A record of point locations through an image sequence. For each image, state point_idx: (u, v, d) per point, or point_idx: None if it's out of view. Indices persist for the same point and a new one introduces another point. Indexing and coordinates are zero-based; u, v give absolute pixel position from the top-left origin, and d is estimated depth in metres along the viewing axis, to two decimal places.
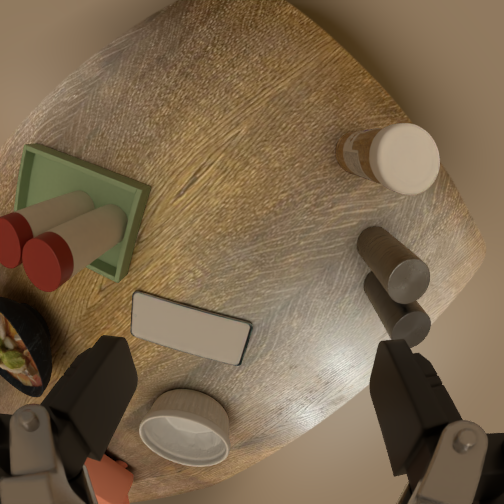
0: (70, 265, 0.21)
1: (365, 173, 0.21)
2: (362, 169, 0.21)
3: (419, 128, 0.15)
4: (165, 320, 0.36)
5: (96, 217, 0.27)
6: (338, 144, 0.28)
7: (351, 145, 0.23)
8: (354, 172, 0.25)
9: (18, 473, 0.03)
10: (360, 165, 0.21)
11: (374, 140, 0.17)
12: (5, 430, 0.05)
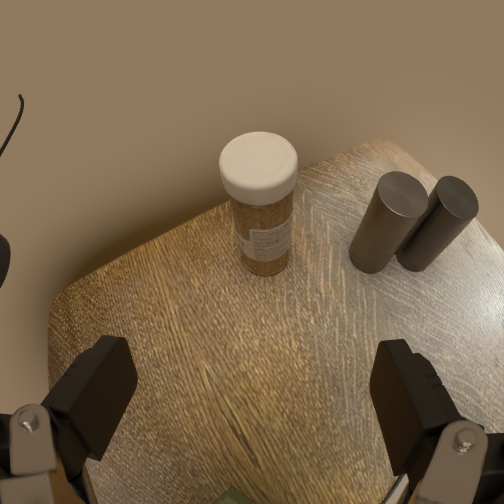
0: None
1: (276, 226, 0.20)
2: (271, 228, 0.20)
3: (227, 144, 0.17)
4: None
5: None
6: (251, 269, 0.27)
7: (247, 242, 0.23)
8: (280, 251, 0.24)
9: (18, 473, 0.03)
10: (266, 230, 0.20)
11: (232, 194, 0.17)
12: (5, 430, 0.05)
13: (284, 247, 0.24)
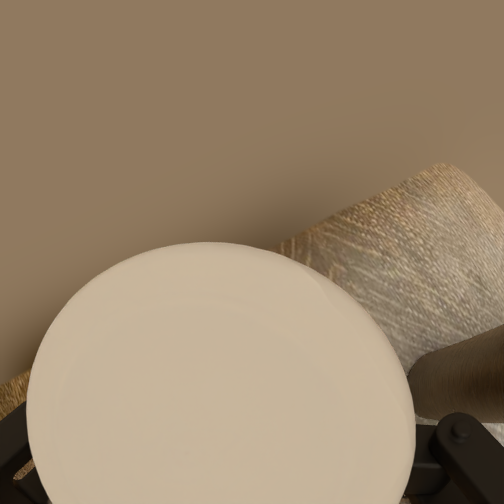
0: None
1: None
2: None
3: (50, 328, 0.03)
4: None
5: None
6: None
7: None
8: None
9: None
10: None
11: None
12: None
13: None
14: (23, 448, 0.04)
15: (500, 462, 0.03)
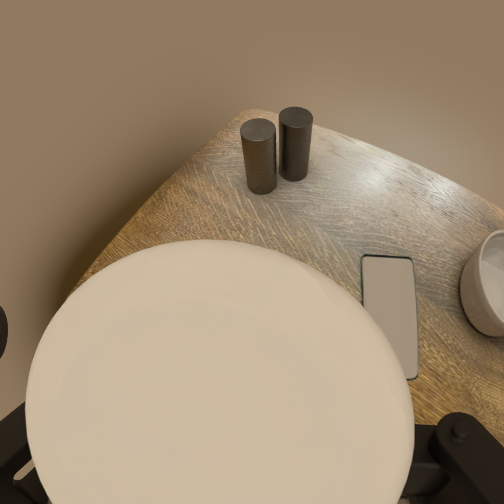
0: None
1: None
2: None
3: (49, 325, 0.03)
4: None
5: None
6: None
7: None
8: None
9: None
10: None
11: None
12: None
13: None
14: (23, 448, 0.04)
15: (500, 462, 0.03)
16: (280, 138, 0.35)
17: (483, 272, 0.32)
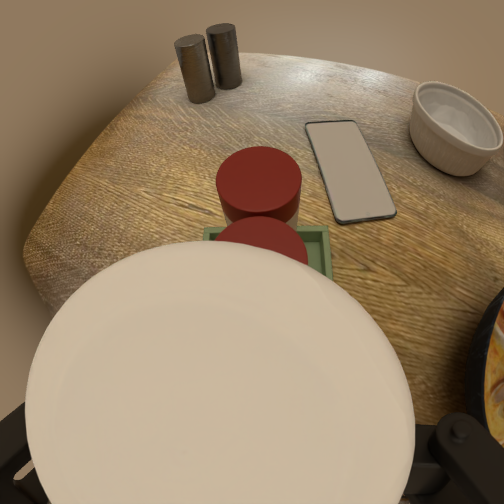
0: None
1: None
2: None
3: (50, 327, 0.03)
4: (350, 183, 0.31)
5: None
6: None
7: None
8: None
9: None
10: None
11: None
12: None
13: None
14: (23, 448, 0.04)
15: (500, 462, 0.03)
16: (210, 49, 0.35)
17: None
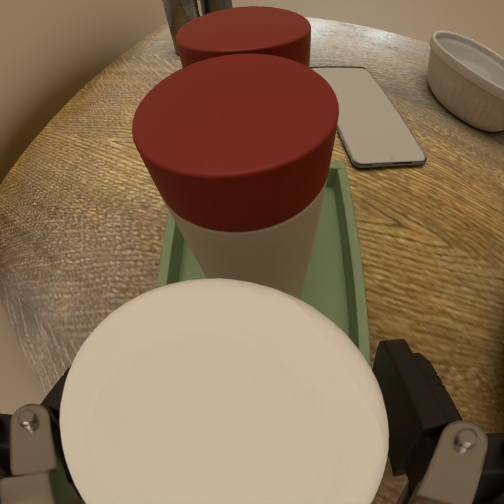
0: None
1: None
2: None
3: (82, 351, 0.04)
4: (367, 124, 0.23)
5: None
6: None
7: None
8: None
9: (18, 473, 0.03)
10: None
11: None
12: (5, 430, 0.05)
13: None
14: None
15: None
16: None
17: None
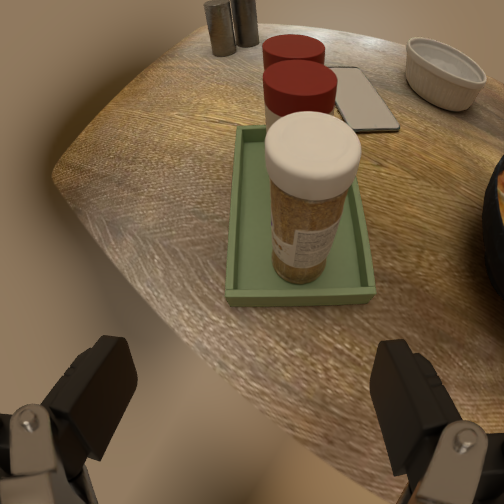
0: None
1: (327, 226, 0.16)
2: (321, 229, 0.16)
3: (274, 124, 0.14)
4: (358, 105, 0.33)
5: None
6: (284, 276, 0.24)
7: (287, 246, 0.19)
8: (323, 255, 0.20)
9: (18, 473, 0.03)
10: (315, 231, 0.16)
11: (283, 185, 0.14)
12: (5, 430, 0.05)
13: (327, 251, 0.20)
14: None
15: None
16: (233, 12, 0.38)
17: None
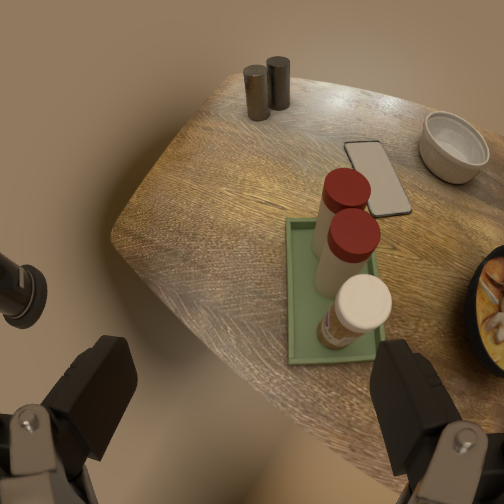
0: None
1: (363, 334, 0.26)
2: (360, 336, 0.26)
3: (343, 287, 0.23)
4: (379, 189, 0.42)
5: None
6: (326, 346, 0.33)
7: (336, 339, 0.28)
8: None
9: (18, 473, 0.03)
10: (356, 337, 0.26)
11: (346, 326, 0.23)
12: (5, 430, 0.05)
13: None
14: None
15: None
16: (269, 78, 0.47)
17: None
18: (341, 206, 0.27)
